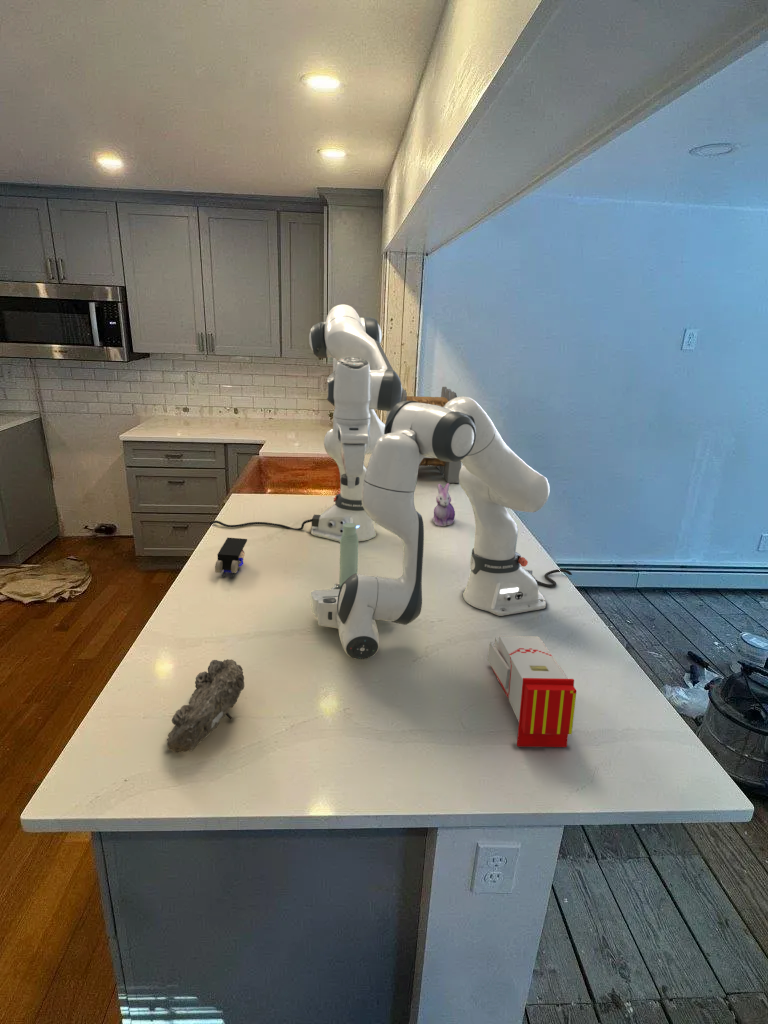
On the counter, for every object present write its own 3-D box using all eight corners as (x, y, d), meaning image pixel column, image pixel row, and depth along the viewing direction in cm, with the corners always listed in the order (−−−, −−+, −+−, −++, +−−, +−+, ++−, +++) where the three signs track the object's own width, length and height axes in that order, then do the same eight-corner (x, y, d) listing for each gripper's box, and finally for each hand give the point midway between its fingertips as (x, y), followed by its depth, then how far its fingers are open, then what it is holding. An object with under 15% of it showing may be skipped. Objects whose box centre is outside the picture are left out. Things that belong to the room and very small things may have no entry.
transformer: (382, 463, 289) (386, 382, 275) (445, 464, 293) (451, 384, 279) (390, 482, 257) (394, 392, 243) (460, 483, 261) (468, 394, 247)
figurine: (440, 528, 206) (443, 489, 201) (425, 519, 214) (428, 481, 209) (461, 525, 210) (465, 486, 205) (446, 516, 219) (449, 478, 214)
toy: (536, 619, 129) (586, 686, 99) (531, 673, 131) (578, 754, 102) (483, 618, 128) (517, 685, 99) (479, 672, 131) (511, 753, 102)
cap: (351, 487, 137) (351, 479, 136) (337, 483, 139) (337, 475, 139) (363, 483, 140) (363, 475, 140) (348, 479, 143) (348, 472, 142)
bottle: (344, 599, 154) (345, 520, 146) (359, 603, 152) (362, 523, 144) (335, 607, 150) (337, 526, 142) (351, 611, 148) (353, 529, 140)
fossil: (192, 660, 117) (244, 628, 112) (224, 691, 120) (276, 661, 115) (142, 746, 98) (202, 712, 93) (182, 779, 101) (242, 748, 96)
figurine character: (238, 584, 162) (249, 557, 175) (236, 562, 158) (247, 536, 172) (215, 584, 161) (227, 556, 175) (212, 561, 158) (225, 535, 171)
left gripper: (335, 419, 144) (334, 472, 149) (341, 437, 125) (339, 497, 130) (360, 420, 145) (358, 472, 150) (369, 438, 126) (367, 497, 131)
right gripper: (396, 598, 138) (386, 573, 150) (311, 602, 134) (309, 576, 147) (395, 621, 140) (385, 594, 153) (311, 625, 136) (309, 598, 149)
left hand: (350, 484), depth 140 cm, fingers closed on cap, 4 cm apart
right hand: (347, 585), depth 150 cm, fingers closed on bottle, 5 cm apart
